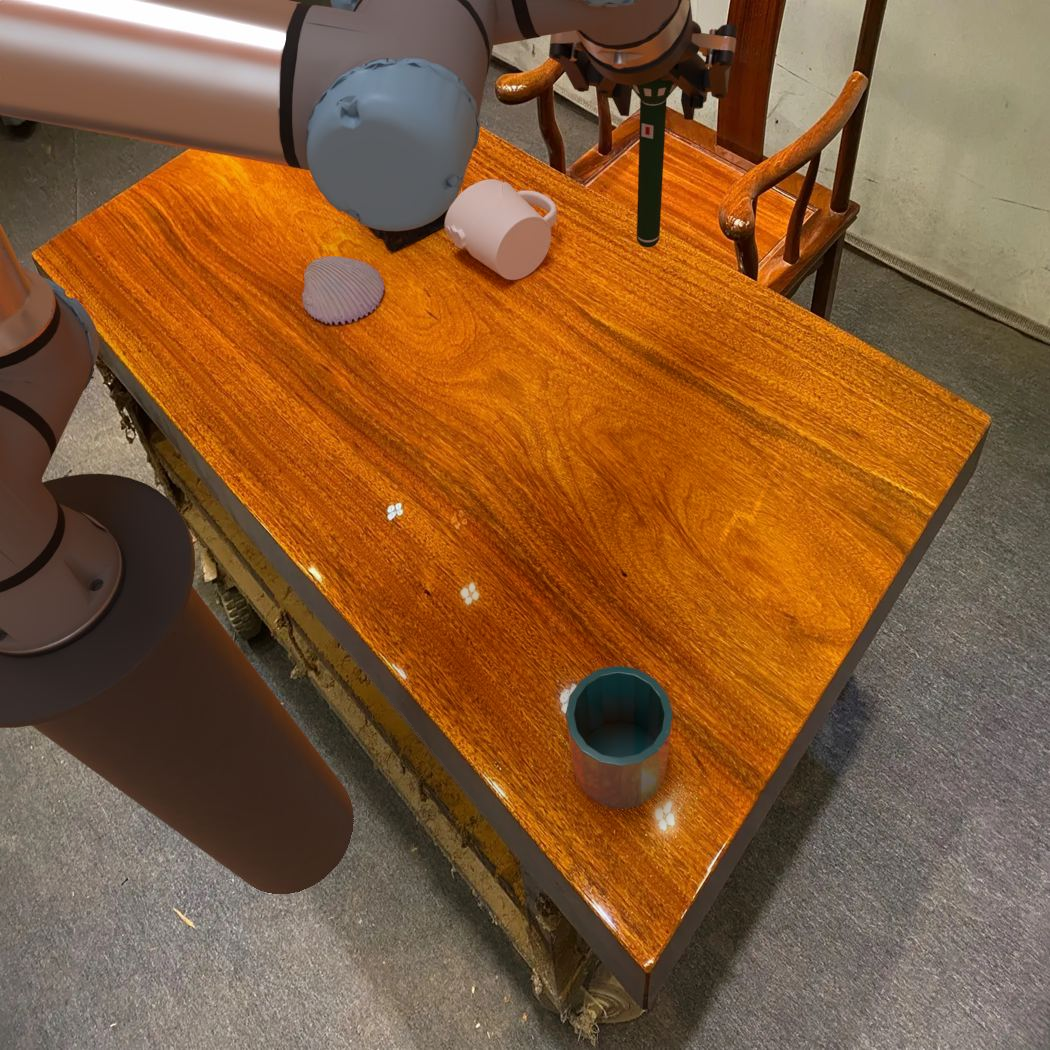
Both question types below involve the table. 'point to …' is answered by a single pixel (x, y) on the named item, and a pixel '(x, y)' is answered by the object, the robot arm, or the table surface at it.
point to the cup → (619, 735)
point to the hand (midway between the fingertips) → (658, 101)
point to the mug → (502, 227)
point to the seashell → (341, 289)
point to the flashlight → (651, 157)
